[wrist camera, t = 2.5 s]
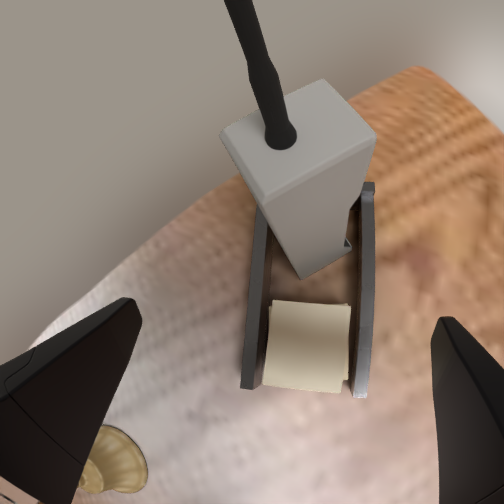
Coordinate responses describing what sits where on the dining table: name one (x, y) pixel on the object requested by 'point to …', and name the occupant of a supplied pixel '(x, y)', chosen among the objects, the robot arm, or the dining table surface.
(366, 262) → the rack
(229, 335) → the dining table surface
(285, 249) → the vintage mobile phone
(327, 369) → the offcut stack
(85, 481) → the hand bell
